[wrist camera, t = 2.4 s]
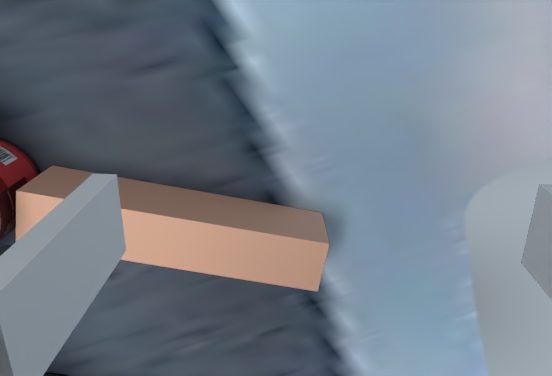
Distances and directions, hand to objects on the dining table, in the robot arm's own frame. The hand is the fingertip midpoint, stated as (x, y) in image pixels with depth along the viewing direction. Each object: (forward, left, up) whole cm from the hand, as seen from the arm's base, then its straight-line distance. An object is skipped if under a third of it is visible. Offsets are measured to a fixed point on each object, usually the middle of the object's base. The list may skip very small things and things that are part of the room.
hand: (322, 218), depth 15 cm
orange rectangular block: (-12, +5, -23) cm, 26 cm away
